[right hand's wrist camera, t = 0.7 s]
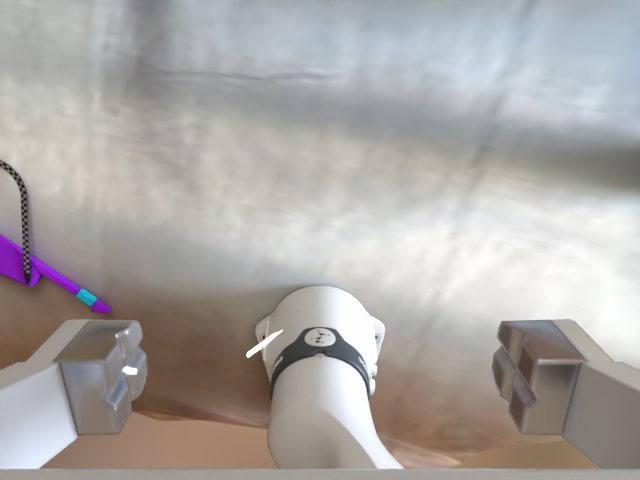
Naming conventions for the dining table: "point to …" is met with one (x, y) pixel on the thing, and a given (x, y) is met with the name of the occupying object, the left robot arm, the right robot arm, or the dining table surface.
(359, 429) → the right robot arm
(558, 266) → the dining table surface
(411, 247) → the dining table surface
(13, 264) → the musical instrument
